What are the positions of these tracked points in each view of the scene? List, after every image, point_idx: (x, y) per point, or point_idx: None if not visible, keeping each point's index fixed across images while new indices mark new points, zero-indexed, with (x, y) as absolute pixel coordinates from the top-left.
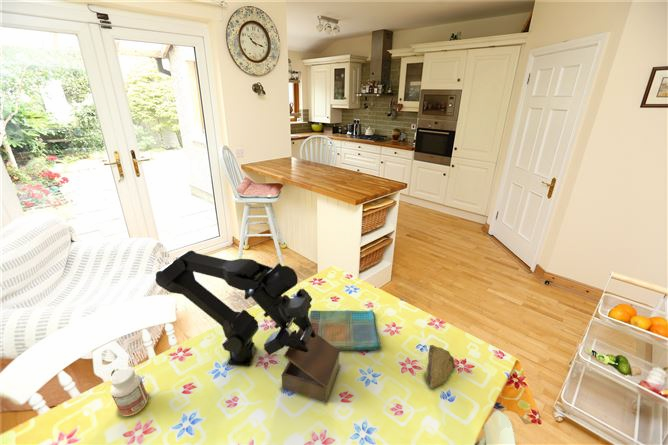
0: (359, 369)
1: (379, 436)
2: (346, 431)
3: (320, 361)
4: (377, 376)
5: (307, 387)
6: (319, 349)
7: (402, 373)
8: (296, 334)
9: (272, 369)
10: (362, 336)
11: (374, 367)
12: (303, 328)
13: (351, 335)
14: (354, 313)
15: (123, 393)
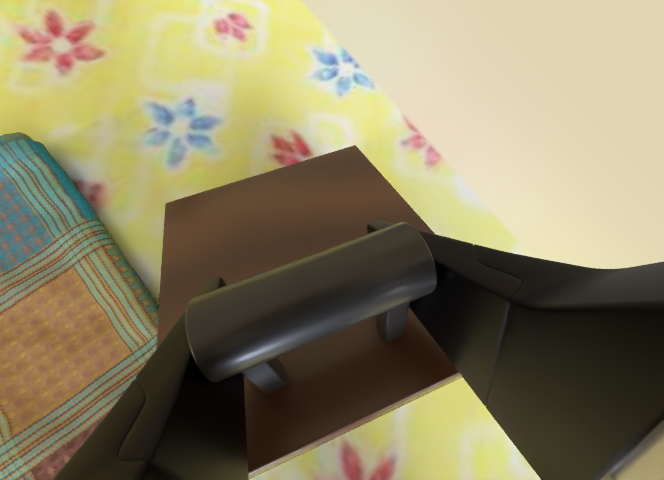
0: (174, 166)
1: (325, 36)
2: (369, 101)
3: (300, 209)
4: (164, 107)
5: None
6: (248, 250)
7: (106, 51)
8: (586, 299)
9: (378, 432)
10: (2, 225)
11: (135, 130)
12: (234, 425)
13: (23, 271)
14: None
15: None
